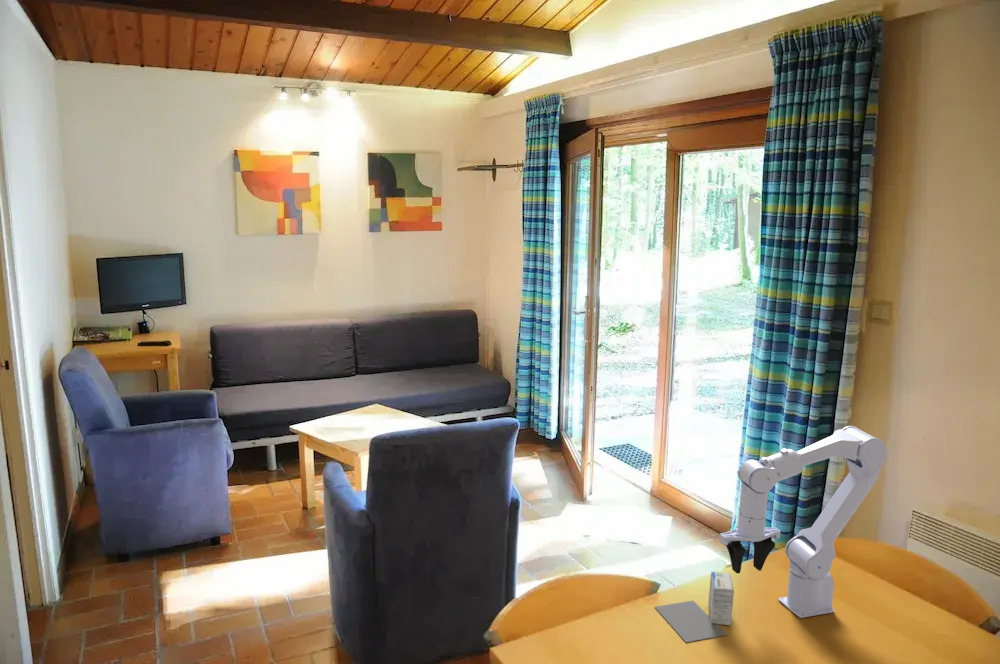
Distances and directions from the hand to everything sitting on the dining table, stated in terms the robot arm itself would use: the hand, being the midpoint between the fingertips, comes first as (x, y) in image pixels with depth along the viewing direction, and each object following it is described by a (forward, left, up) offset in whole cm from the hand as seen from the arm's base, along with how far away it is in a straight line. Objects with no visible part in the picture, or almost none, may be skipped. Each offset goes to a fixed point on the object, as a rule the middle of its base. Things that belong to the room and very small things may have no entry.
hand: (746, 569), depth 167 cm
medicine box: (+6, 0, -11) cm, 12 cm away
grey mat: (+14, 0, -10) cm, 17 cm away
